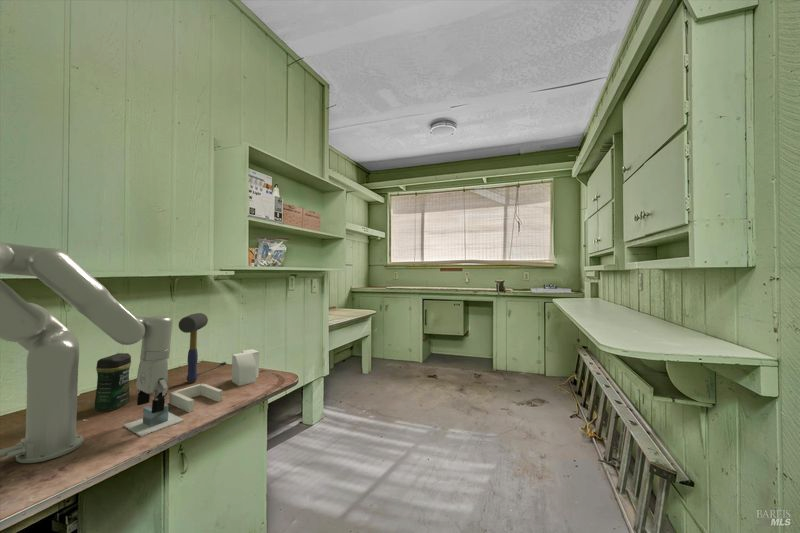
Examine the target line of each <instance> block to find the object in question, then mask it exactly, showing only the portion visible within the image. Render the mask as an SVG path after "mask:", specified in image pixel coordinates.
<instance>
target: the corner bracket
mask: <svg viewBox="0 0 800 533" xmlns="http://www.w3.org/2000/svg"><path fill="white" fill-rule="evenodd" d="M231 357H232V358H231V382H232V383H234V384H235V385H237V386H238V387H239V386H240V387H241V386H245V385H248V384H252V383H256V382H257V377H258V378H259V369H260V368H259V367H260V351H259V350H256V349H254V348H252V349H245V350H241V352H239V353H234V354H232V356H231Z"/></svg>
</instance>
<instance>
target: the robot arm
mask: <svg viewBox="0 0 800 533" xmlns="http://www.w3.org/2000/svg"><path fill="white" fill-rule="evenodd" d="M0 274H4V275H15V276H16V275H17V276H29V277H36V278H37V279H38V280H39V281H41V283H43V284H44V285H45V286H46V287H49V289H51V290H52V291H53V292H54V293H55V294H57V295H58V296H59V297H61V299H63V300H64V301H65V302H66V303H68V304H69V305H70V306H71V307H72V308H74V310H76V311H77V312H78V313H80V314H81V315H83V316H84V317H85V318H87V319H88V320H89V321H90V322H91V323H93V324H94V325H95V326H96V327H97V328H98V329H99V330H101V331H102V332H103V333H105V335H107V336H109V337H110V339H112V340H114V341H115V343H117V344H120V345H124V346H129V345H134V344H136V343H138V342H140V341H141V349H140V358H139V359H140V360H139V365H138V368H137V374H136V376H137V377H136V382H135V383H136V384H135V387H136V389H137V392H138V394H137V399H136V400H137V401H136V405H137V406H142V405H147V404H149V403H150V399H151V398H150V397H151V394H152V396H153V400H152V404H151V405H152V413H157V412H160V411H163V410H164V404H166V402H165V400H166V398H167V395H168V394H167V392H168V391H169V386H168V376H169V375H168V373H169V372H168V371H169V370H168V369H169V367H168V360H169V359H170V353H171V340H172V333H173V332H172V330H173V318H172V317H170V316H166V315H165V316H164V315H153V316H152V315H151V316H135V315H133V314H132V313H131V312H130V311H128V309H126V308H125V307H124V306H123V304H121V303H120V302H118V300H117V299H115V297H114V296H113V295H112V294H111V292H110V291H109V289H107V288H106V286H104V285H103V284H102V283H101V282H100V281H98V279H97V278H95V276H93V275H91V274H90V273H89V272H88V271H87V270H86V269H85V268H84V267H83V266H82V265H80V264H79V263H78V262H77V261H76V260H75V259H74V258H73V257H72V256H70V255H69V254H68V253H67V252H66V251H64V250H61V249H59V248H55V247H42V246H41V247H39V246H31V245H24V244H16V243H10V242H2V241H0ZM0 339H1V340H3V341H6V342H11V343H17V344H19V345H20V346H21V347H22V348H24V349H25V350H26V351H28V353H27V357H26V408H25V409H26V413H25V437H23V438H21V439H20V440H21V441H20V442H18V443H16V444H15V445H13V446H9V447H5V448H2V449H0V459H1V458H5V457H6V459H10V458H13V457H15V461H16V462H18V463H21V464H33V463H41V462H45V461H46V462H47V461H49V460H53V459H56V458H58V457H63V456H65V455H67V454H69V453H71V452H73V451H75V450H76V449H78V448H79V447H81V446H82V445H83V443H84V437H83V435H81V434H78V433H77V418H78V416H77V415H78V412H77V411H78V388H79V387H78V386H79V385H78V384H79V382H78V380H79V361H80V344H79V343H80V342H79V339H78V337H77V336H76V335H75V334H74V333H73V332H72V331H71V330H70V329H69V328H68V327H66V326H65V324H63V322H61V321H60V320H59V319H57V318H56V317H55V316H54V315H53V314H51V313H50V311H49V310H47V309H46V308H44V307H43V306H42V305H40V304H37V303H33V302H27V301H26V300H25V299H24V298H23V297H21V295H19V294H18V293H17V292H16V291H15V290H14V289H13V288H12V287H10V286H9V285H8V284H6V283H5V282H4V281H3V280H2V279H1V278H0Z"/></svg>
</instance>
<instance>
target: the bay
mask: <svg viewBox="0 0 800 533" xmlns="http://www.w3.org/2000/svg"><path fill="white" fill-rule="evenodd" d="M199 396H202V397H204V398H206V399H207V398H208V399H210V400H212V401H215V402H217V403H220V402H222V401H223V389H220V388H218V387H215V386H212V385H210V384H206V383H203V382H202V383H198V384H194V385H191V386H188V387H184V388H181V389H177V390H174V391H171V392H169V397H168V398H169V399H168V404H169V403H170V404H169V405H171V406H174V407H176V408H178V409H180V410H182V411H184V410H185V412H187V413H192V412H194V405H195V404H194V401H195V400H194V399H193V398H196V397H199ZM191 411H192V412H191Z"/></svg>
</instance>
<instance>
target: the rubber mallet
mask: <svg viewBox="0 0 800 533" xmlns="http://www.w3.org/2000/svg"><path fill="white" fill-rule="evenodd" d="M208 321H209V319H208V316H207V315H206V314H205V313H202V312H197V313H191V314H188V315H187V316H183V317H182V318H181V319H180V320H179V322H178V329H179V330H180V331H181V332H183V333H185V334H188V333H190V335H189V350H188V353H187V360H186V361H187V375H186V381H187V382H188V383H190V384H191V383H195V382H197V379H198V376H197V372H198V371H197V365H198V362H199V361H198V359H199V358H198V356H199V355H198V349H197V348H198V347H197V346H198V345H197V344H198V340H197V338H198V331H199V330H200V329H203V328H204V327H206V325H208Z"/></svg>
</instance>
